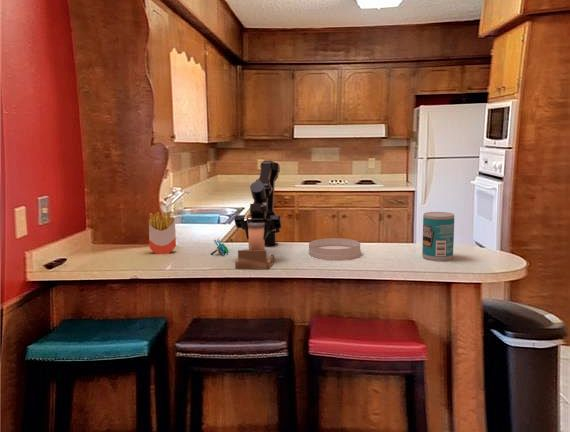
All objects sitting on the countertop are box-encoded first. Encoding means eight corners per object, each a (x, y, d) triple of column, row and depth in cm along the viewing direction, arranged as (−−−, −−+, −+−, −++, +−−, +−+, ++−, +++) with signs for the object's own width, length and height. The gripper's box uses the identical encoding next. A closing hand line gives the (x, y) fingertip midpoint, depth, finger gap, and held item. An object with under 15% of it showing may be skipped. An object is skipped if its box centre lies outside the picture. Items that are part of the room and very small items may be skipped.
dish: (334, 264, 206) (334, 251, 205) (297, 254, 223) (297, 243, 222) (371, 255, 220) (371, 243, 219) (334, 246, 237) (334, 236, 236)
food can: (455, 255, 214) (456, 212, 211) (450, 262, 204) (451, 217, 201) (425, 253, 220) (426, 211, 217) (419, 259, 209) (420, 215, 206)
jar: (256, 255, 215) (255, 220, 212) (268, 257, 210) (268, 222, 208) (245, 258, 210) (244, 223, 207) (257, 261, 205) (256, 224, 203)
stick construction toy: (226, 252, 219) (216, 237, 221) (212, 261, 220) (203, 246, 221) (233, 253, 231) (224, 239, 233) (220, 262, 231) (211, 248, 233)
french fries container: (174, 253, 228) (172, 212, 225) (149, 254, 228) (147, 213, 225) (176, 251, 233) (174, 211, 230) (151, 251, 232) (149, 212, 229)
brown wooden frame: (242, 260, 214) (242, 243, 213) (274, 260, 212) (273, 243, 211) (235, 268, 201) (234, 250, 200) (269, 269, 199) (268, 251, 198)
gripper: (234, 195, 211) (229, 227, 202) (280, 195, 209) (276, 227, 200) (239, 211, 220) (234, 242, 211) (282, 211, 218) (279, 243, 209)
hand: (255, 238), depth 207 cm, fingers closed on jar, 6 cm apart
